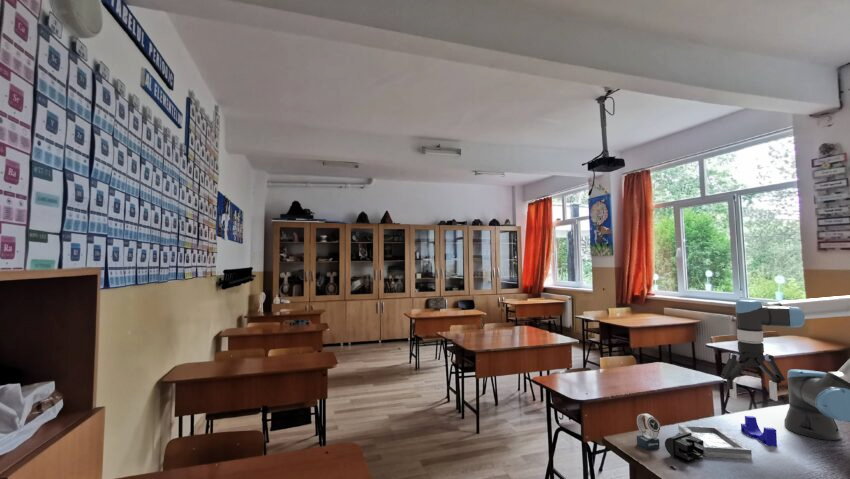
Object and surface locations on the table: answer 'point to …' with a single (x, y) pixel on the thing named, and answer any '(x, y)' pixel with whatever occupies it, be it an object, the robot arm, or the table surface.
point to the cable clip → (759, 432)
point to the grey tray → (717, 442)
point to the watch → (647, 439)
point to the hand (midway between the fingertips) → (753, 398)
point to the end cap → (684, 448)
